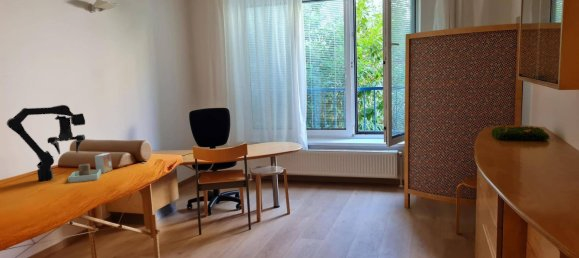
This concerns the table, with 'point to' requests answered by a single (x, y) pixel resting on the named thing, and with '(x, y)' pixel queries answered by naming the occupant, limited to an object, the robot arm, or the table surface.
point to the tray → (76, 178)
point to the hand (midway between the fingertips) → (68, 153)
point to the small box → (103, 162)
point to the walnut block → (84, 169)
